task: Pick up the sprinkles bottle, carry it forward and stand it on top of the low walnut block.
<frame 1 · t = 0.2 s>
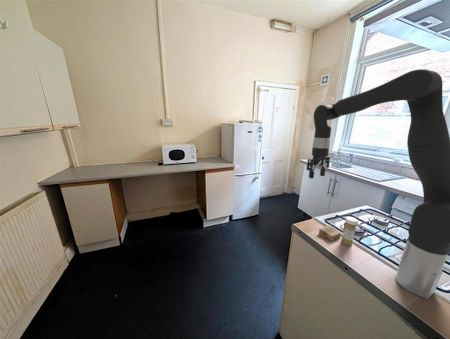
hand: (316, 176, 95), 29 cm above the counter, fingers open, 8 cm apart
sprinkles bottle: (346, 243, 87), on the counter
walnut block: (329, 235, 92), on the counter
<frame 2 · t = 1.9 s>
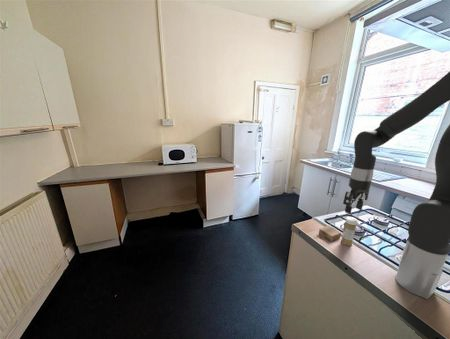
hand: (353, 210, 82), 17 cm above the counter, fingers open, 8 cm apart
nothing on the counter moved.
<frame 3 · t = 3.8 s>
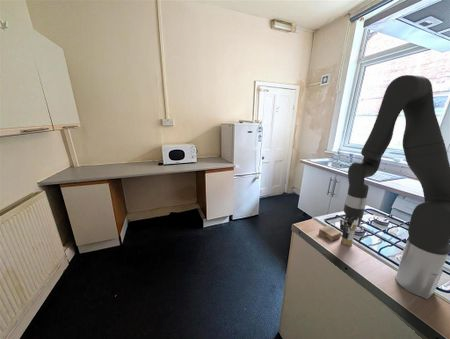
hand: (348, 236, 86), 4 cm above the counter, fingers closed on sprinkles bottle, 4 cm apart
sprinkles bottle: (346, 243, 87), on the counter, touching gripper
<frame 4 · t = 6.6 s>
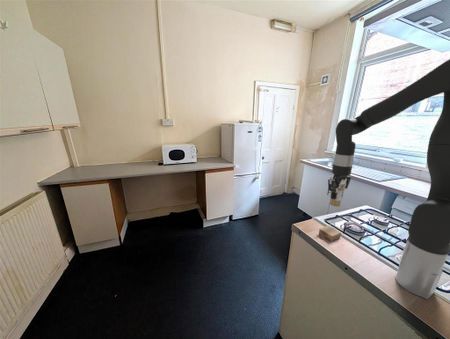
hand: (336, 197, 86), 21 cm above the counter, fingers closed on sprinkles bottle, 4 cm apart
sprinkles bottle: (334, 205, 87), point 17 cm above the counter, touching gripper
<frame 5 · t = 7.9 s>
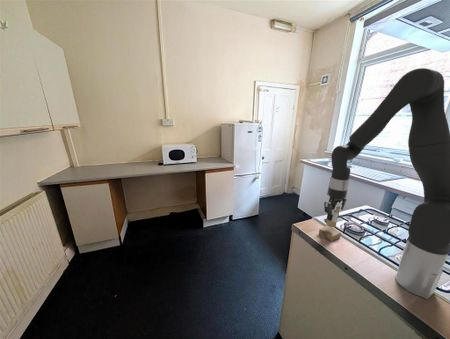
hand: (332, 218, 90), 10 cm above the counter, fingers closed on sprinkles bottle, 4 cm apart
sprinkles bottle: (330, 225, 91), point 6 cm above the counter, touching gripper
when the fingers open (7 cm above the counter, at t = 9.2 s): sprinkles bottle stays where it is, resting on walnut block.
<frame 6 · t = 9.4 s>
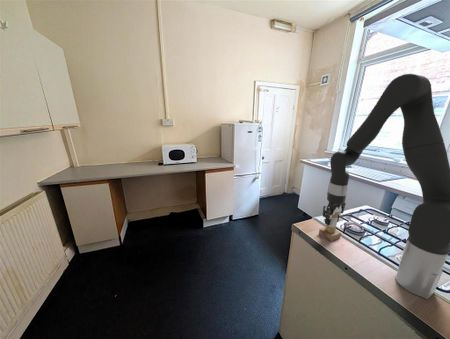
hand: (331, 222, 90), 8 cm above the counter, fingers open, 6 cm apart
sprinkles bottle: (330, 230, 91), point 3 cm above the counter, touching walnut block
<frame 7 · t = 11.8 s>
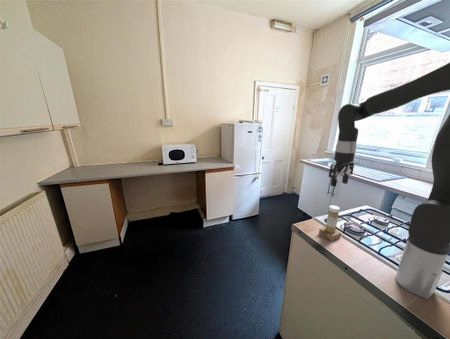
hand: (339, 184, 85), 28 cm above the counter, fingers open, 8 cm apart
nothing on the counter moved.
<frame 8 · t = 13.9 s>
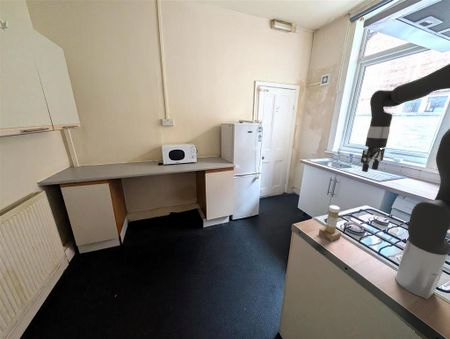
hand: (369, 170, 86), 34 cm above the counter, fingers open, 8 cm apart
nothing on the counter moved.
at the end: sprinkles bottle 0.0 cm from the walnut block (horizontally); sprinkles bottle touching walnut block; sprinkles bottle tilted 0° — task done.
